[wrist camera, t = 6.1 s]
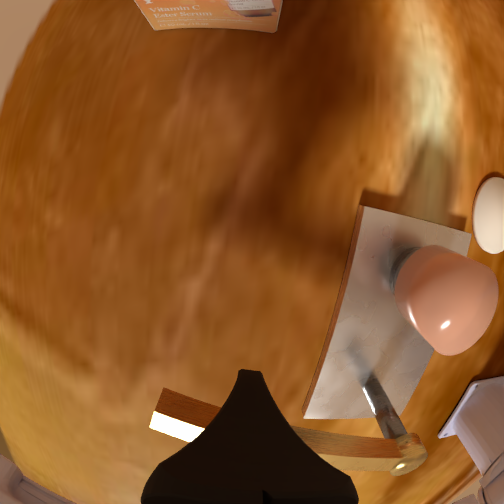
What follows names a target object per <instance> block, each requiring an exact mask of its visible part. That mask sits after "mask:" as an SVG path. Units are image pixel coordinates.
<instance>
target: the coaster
mask: <svg viewBox="0 0 504 504" xmlns="http://www.w3.org/2000/svg"><path fill="white" fill-rule="evenodd" d="M472 227H473V232H474V236H475V239H476V241H477V243H478V245H479V246H480V247H481V248H482V249H483V250H484V251H486V252H489V253H492V254H496V253H499V252H501V251H503V250H504V179H502V178H498V177H492V178H489V179H487V180H486V181H484V182H483V184H482V185H481V186H480V188H479V189H478V191H477V194H476V196H475V200H474V204H473V210H472Z"/></svg>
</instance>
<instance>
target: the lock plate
mask: <svg viewBox="0 0 504 504" xmlns="http://www.w3.org/2000/svg"><path fill="white" fill-rule="evenodd" d="M471 235H472V234H470V233H467V232H464V231H460V230H457V229H453V228H450V227H446V226H443V225H439V224H436V223H432V222H428V221H424V220H421V219H417V218H413V217H409V216H405V215H401V214H397V213H393V212H389V211H384V210H380V209H376V208H371V207H367V206H363V205H359V206H358V212H357V217H356V222H355V227H354V232H353V236H352V241H351V245H350V250H349V254H348V259H347V263H346V267H345V271H344V275H343V279H342V283H341V287H340V291H339V295H338V299H337V302H336V306H335V310H334V313H333V317H332V320H331V324H330V327H329V331H328V334H327V337H326V341H325V344H324V347H323V350H322V353H321V356H320V360H319V363H318V366H317V369H316V372H315V375H314V378H313V380H312V383H311V386H310V389H309V392H308V395H307V397H306V400H305V403H304V406H303V408H302V413H303V418H305V419H351V418H372V417H375V418H376V420H377V422H378V424H379V426H380V429H381V431H382V433H383V435H384V438H385V439H396V438H398V437H400V436H402V435H405V434H408V433H407V432H406V430H405V428H404V426H403V424H402V422H401V420H400V418H399V416H398V415H401V413H402V412H403V410H404V408H405V407H406V405H407V403H408V401H409V399H410V398H411V396H412V394H413V392H414V390H415V388H416V386H417V385H418V383H419V381H420V379H421V377H422V375H423V373H424V371H425V368H426V366H427V364H428V362H429V360H430V358H431V356H432V353H433V351H434V348H433V347H432V346H431V345H430V344H429V343H428V342H427V341H426V339H425V338H424V337H423V336H422V335H421V334H420V333H419V332H418V331H417V330H416V329H415V328H414V327H413V326H412V325H411V324H410V323H409V322H408V321H407V320H406V319H405V318H404V317H403V316H402V315H401V313H400V312H399V310H398V309H397V306H396V303H395V284H396V280H397V277H398V274H399V272H400V270H401V268H402V267H403V265H404V263H405V262H406V261H407V259H408V258H409V257H410V256H411V255H412V254H413V253H414V252H416V251H417V250H419V249H421V248H422V247H425V246H428V245H440V246H443V247H445V248H448V249H450V250H452V251H455V252H457V253H459V254H461V255H464V256H467V252H468V248H469V244H470V240H471Z"/></svg>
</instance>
